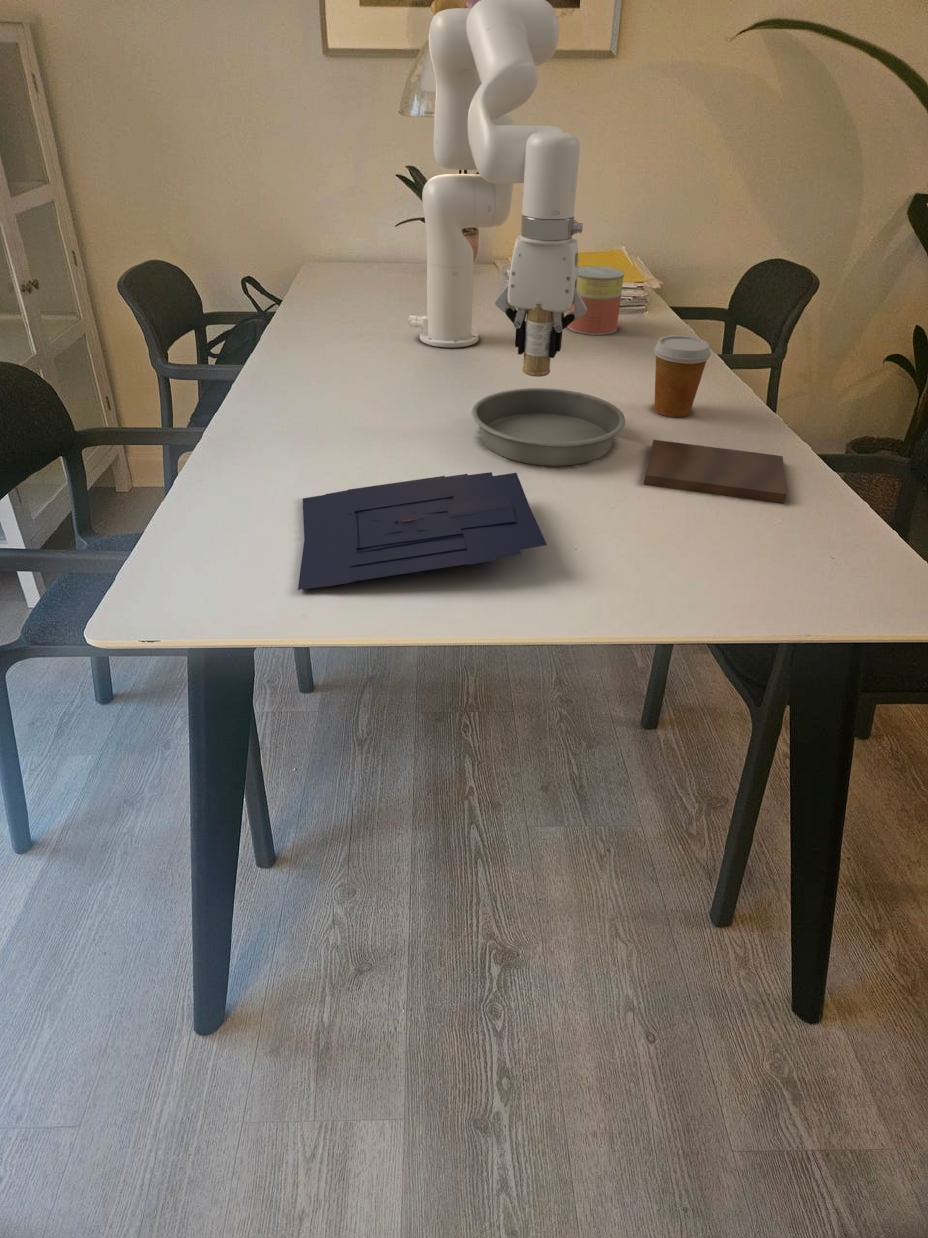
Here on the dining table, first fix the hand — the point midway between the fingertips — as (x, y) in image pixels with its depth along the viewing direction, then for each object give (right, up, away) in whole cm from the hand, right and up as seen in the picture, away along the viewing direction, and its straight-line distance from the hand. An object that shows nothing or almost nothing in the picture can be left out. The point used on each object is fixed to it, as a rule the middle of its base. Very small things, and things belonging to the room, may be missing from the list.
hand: (537, 352), depth 136 cm
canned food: (+17, +24, +58) cm, 65 cm away
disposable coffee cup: (+25, -5, +17) cm, 31 cm away
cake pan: (+2, -13, +4) cm, 14 cm away
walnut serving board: (+26, -20, -5) cm, 34 cm away
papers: (-18, -32, -24) cm, 44 cm away
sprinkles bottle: (0, -3, +2) cm, 4 cm away
